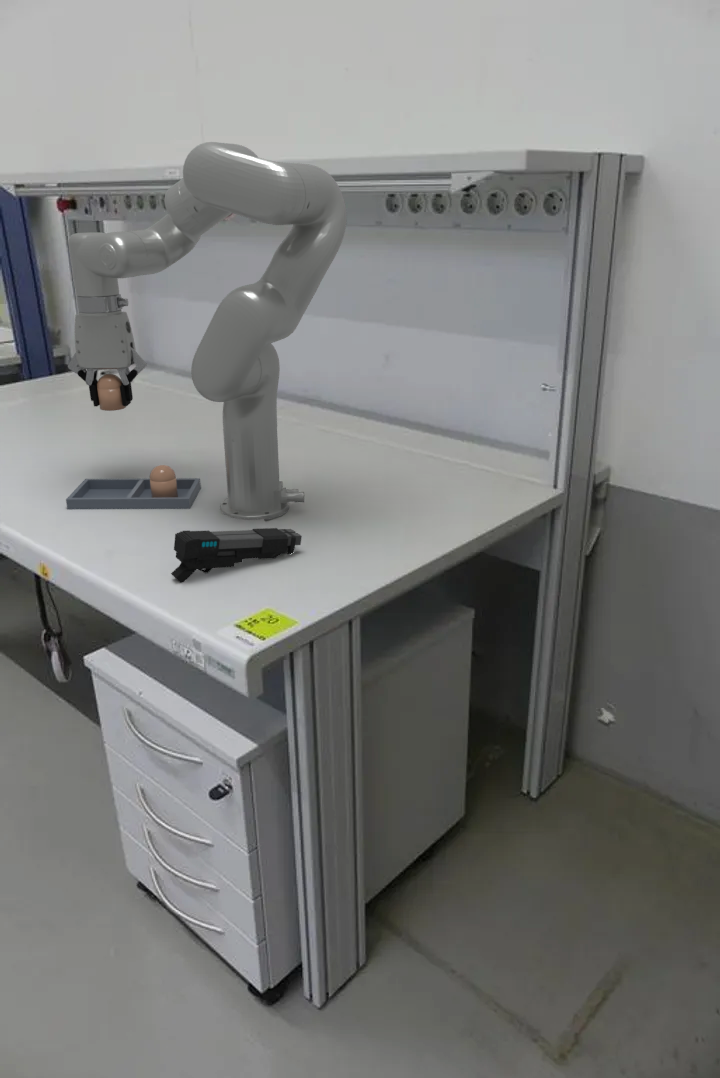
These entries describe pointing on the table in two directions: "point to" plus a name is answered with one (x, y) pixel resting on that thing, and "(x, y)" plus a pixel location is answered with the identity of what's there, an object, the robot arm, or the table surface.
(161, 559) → the table surface
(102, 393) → the egg
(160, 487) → the seated egg
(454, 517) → the table surface
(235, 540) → the gun
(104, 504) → the divided grey tray
